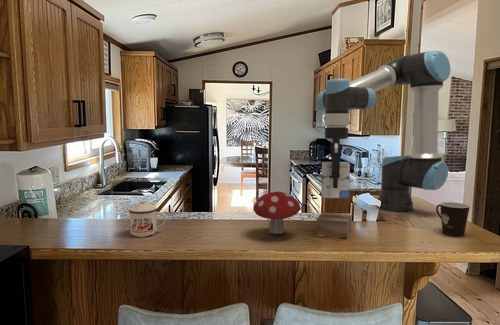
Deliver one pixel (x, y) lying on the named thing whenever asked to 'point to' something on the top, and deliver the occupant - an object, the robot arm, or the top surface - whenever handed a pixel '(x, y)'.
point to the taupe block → (334, 225)
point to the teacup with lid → (144, 218)
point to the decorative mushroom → (276, 209)
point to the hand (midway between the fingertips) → (334, 195)
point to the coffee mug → (453, 218)
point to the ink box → (343, 177)
